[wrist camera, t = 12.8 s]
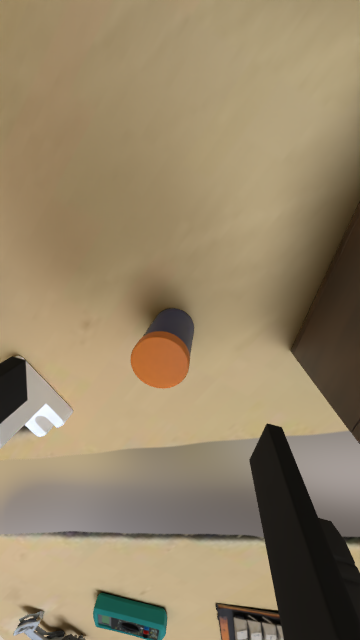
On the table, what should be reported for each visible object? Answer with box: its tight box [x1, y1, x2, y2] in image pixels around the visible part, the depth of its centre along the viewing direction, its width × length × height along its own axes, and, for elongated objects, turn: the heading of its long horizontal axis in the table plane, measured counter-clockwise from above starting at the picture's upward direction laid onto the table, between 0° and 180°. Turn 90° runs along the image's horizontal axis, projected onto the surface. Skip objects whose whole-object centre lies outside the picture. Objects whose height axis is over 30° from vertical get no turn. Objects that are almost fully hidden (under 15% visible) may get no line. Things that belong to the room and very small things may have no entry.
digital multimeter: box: [93, 593, 167, 640], centre depth 44 cm, size 7×15×3 cm, turn 83°
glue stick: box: [131, 308, 194, 388], centre depth 19 cm, size 4×4×7 cm
